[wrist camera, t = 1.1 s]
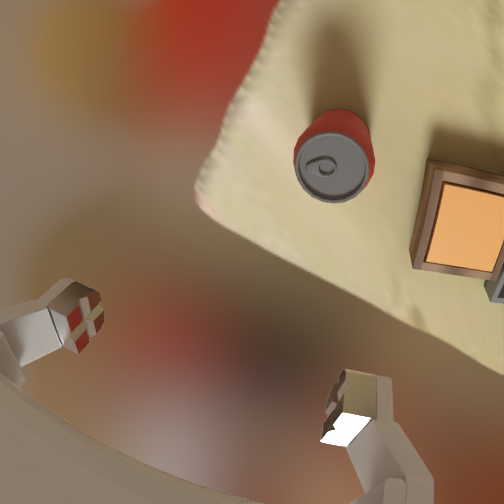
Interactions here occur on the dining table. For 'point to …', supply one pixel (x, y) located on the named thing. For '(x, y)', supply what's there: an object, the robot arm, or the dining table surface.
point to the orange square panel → (467, 227)
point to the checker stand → (427, 211)
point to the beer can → (334, 157)
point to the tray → (496, 288)
